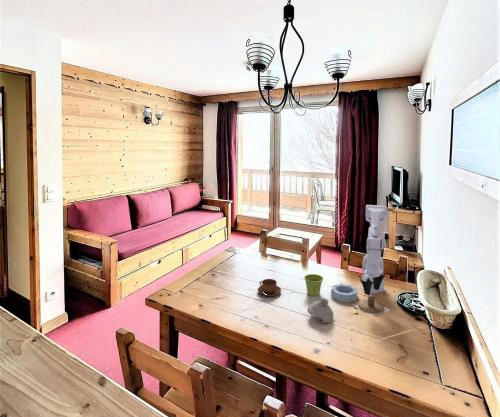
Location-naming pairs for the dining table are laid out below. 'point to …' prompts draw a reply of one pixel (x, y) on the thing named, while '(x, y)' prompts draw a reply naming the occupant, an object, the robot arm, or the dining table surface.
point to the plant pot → (313, 284)
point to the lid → (371, 305)
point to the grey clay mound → (321, 311)
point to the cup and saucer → (269, 287)
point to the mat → (371, 313)
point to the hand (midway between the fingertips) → (371, 291)
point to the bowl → (344, 293)
